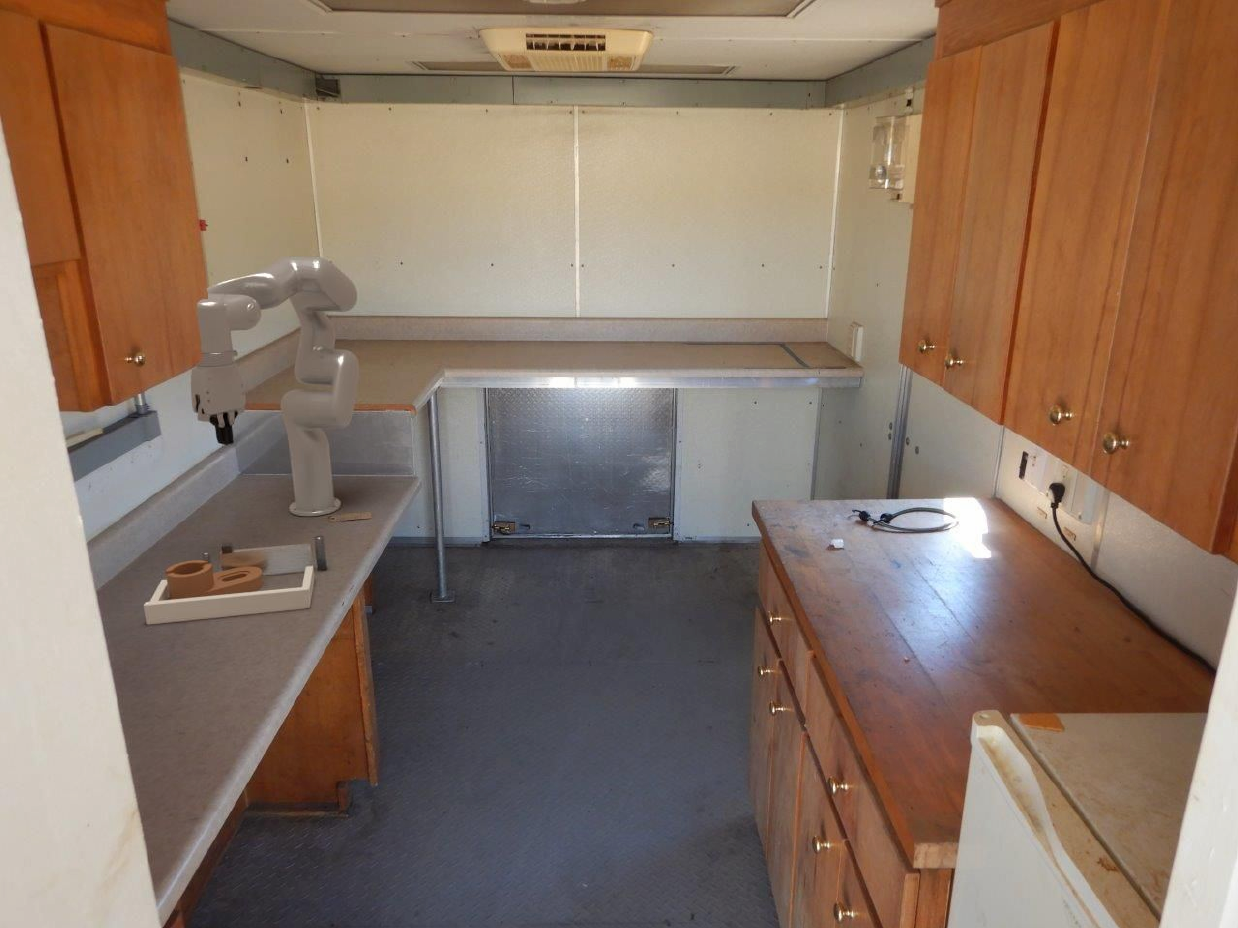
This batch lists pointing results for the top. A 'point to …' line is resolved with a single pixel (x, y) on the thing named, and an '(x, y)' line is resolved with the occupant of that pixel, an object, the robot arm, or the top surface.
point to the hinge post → (320, 553)
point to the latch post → (206, 557)
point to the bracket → (210, 580)
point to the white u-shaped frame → (227, 603)
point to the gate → (268, 558)
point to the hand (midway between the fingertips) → (225, 443)
